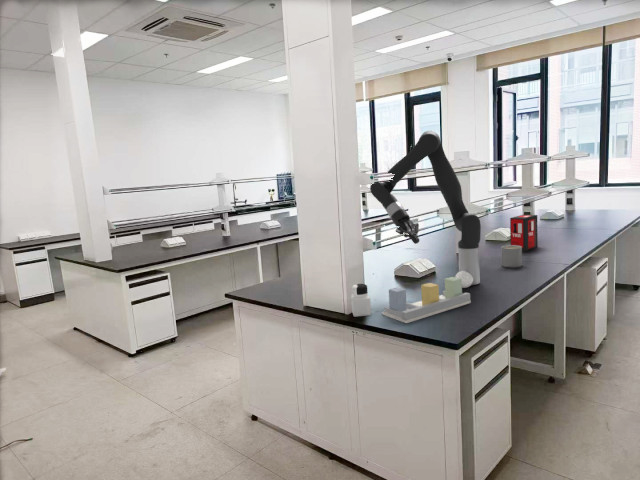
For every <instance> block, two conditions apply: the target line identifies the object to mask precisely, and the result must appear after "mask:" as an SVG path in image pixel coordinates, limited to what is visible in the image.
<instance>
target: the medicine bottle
mask: <svg viewBox="0 0 640 480" xmlns="http://www.w3.org/2000/svg"><path fill="white" fill-rule="evenodd" d="M351 290H352V294H351V295H350V302H351V312H352V315H353V317H355V318H356V317H364V316H365V317H366V316H372V305H371V301H372V300H371V298H370V295H369V294H368V285H367V284H365V283H357V284H354V285H352V289H351Z"/></svg>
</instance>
